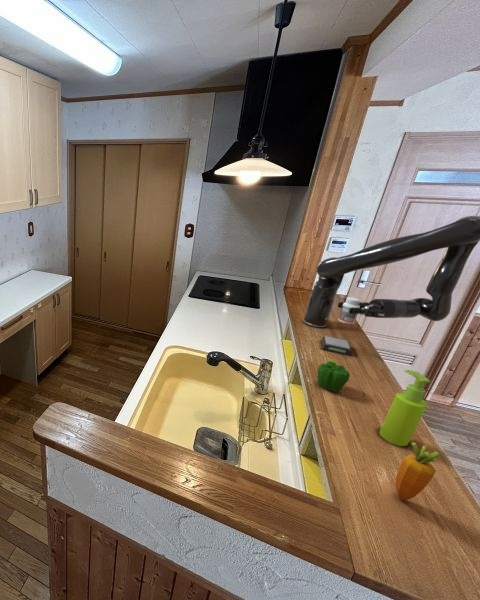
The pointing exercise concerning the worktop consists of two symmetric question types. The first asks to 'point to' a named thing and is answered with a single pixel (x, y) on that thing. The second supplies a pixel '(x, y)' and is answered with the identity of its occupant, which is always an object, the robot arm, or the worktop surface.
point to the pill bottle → (345, 314)
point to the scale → (336, 345)
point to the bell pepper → (332, 376)
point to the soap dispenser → (405, 412)
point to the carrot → (415, 473)
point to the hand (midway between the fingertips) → (344, 307)
